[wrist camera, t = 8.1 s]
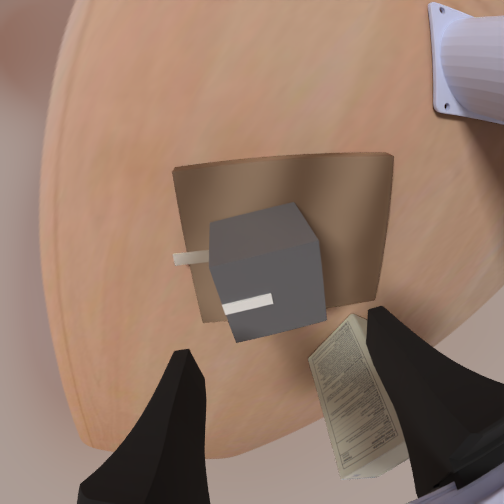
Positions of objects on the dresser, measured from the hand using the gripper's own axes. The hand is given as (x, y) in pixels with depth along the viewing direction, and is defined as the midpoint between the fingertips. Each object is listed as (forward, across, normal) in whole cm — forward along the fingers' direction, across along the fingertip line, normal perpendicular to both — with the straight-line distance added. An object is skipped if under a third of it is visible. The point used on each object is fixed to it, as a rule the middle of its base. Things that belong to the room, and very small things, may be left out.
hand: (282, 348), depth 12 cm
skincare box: (+10, -6, +12) cm, 16 cm away
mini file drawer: (+8, 0, 0) cm, 8 cm away
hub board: (+9, -2, +1) cm, 10 cm away
